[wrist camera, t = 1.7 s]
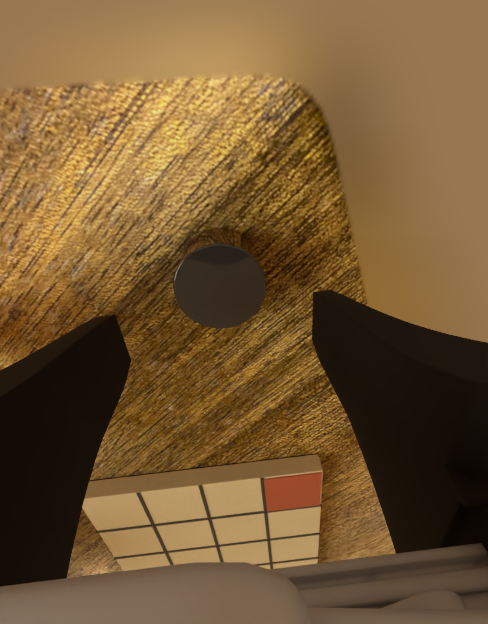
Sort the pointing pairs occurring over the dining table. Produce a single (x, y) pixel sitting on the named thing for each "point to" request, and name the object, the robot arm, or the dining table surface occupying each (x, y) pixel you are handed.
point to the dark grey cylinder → (219, 279)
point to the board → (212, 514)
